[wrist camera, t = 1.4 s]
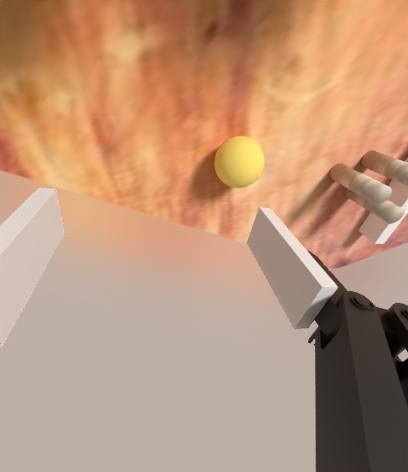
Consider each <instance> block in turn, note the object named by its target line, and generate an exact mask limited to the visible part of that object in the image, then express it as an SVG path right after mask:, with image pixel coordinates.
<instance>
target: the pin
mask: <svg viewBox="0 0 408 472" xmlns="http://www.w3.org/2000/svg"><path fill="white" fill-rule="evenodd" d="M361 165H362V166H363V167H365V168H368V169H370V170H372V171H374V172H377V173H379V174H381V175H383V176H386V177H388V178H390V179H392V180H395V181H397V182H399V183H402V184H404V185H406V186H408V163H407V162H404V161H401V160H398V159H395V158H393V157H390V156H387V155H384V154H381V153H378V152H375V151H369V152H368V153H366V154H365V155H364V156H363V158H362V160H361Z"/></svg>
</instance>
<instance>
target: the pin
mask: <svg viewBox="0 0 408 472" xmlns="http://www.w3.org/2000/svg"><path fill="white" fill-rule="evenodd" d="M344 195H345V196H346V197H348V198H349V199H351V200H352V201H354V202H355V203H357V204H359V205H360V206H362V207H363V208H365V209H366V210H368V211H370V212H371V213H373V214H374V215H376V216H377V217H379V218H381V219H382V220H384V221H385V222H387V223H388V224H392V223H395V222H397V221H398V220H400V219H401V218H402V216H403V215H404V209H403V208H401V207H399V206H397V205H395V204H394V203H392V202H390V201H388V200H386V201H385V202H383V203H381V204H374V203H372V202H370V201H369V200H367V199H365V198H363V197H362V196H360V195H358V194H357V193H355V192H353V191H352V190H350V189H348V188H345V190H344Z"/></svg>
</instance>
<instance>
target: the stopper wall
mask: <svg viewBox="0 0 408 472" xmlns="http://www.w3.org/2000/svg"><path fill="white" fill-rule="evenodd" d="M404 162H407V163H408V157H407V158H406V160H405V161H404ZM388 186H389V187H391V189H392V193H391V195H390V197H389V198H388V199H387V200H388V201H390V202H392V203H394V204H395V205H397V206H399V207H401V208H403V209H404V215H403V216H402V218H401V219H400V220H398V221H397V222H395V223H392V224H388V223H387V222H385V221H384V220H382V219H381V218H379V217H377V216H376V215H374V214H373V213H371V212H370V214H369V215H368V217H367V218H366V220H365V221H364V223H363V224H362V226H361V227H360V228H359V230H358V231H359V232H360V233H362V234H363V235H364V236H366V237H367V238H368V239H370V240H371V241H372V242H373V243H376V244H384V243H385V241H386V240H387V239H388V237H389V236H390V235H391V234H392V232H393V231H394V230H395V228H396V227H397V226H398V224H399V223H400V222H401V221H402V219H403V218H404V217H405V215H406V214H407V213H408V186H406V185H404V184H402V183H399V182H397V181H395V180H392V181H391V182H390V184H389V185H388Z"/></svg>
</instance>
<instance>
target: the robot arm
mask: <svg viewBox="0 0 408 472" xmlns="http://www.w3.org/2000/svg"><path fill="white" fill-rule="evenodd" d="M64 235H65V232H64V226H63V221H62V216H61V210H60V205H59V200H58V195H57V189H49V188H38V189H37V190H36V191H35V192H34V193H33V194H32V195H31V196H30V197H29V198H28V199H27V200H26V201H25V202H24V203H23V204H22V205H21V206H20V207H19V208H18V209H17V210H16V211H15V212H14V213H13V214H12V215H11V216H10V217H9V218H8V219H7V220H6V221H5V222H4V223H3V224H2V225H1V226H0V347H1V346H3V344H4V343H5V341H6V339H7V337H8V335H9V334H10V332H11V330H12V328H13V326H14V324H15V323H16V321H17V319H18V317H19V316H20V314H21V312H22V310H23V309H24V307H25V305H26V303H27V301H28V300H29V298H30V296H31V294H32V292H33V291H34V289H35V287H36V285H37V283H38V282H39V280H40V278H41V276H42V274H43V272H44V271H45V269H46V267H47V266H48V264H49V262H50V260H51V258H52V257H53V255H54V253H55V251H56V249H57V247H58V246H59V244H60V242H61V240H62V239H63V237H64ZM247 244H248V246H249V247H250V249H251V251H252V253H253V255H254V256H255V258H256V260H257V262H258V264H259V266H260V267H261V269H262V271H263V273H264V275H265V276H266V278H267V280H268V282H269V284H270V286H271V287H272V289H273V291H274V293H275V295H276V297H277V298H278V300H279V302H280V304H281V306H282V308H283V309H284V311H285V313H286V315H287V317H288V318H289V320H290V322H291V324H292V326H293V327H294V329H299V328H300V329H301V328H309V326H310V325H311V324H312V322H313V321H314V320H315V321H316V323H317V324H318V328H317V329H316V330H315V332H314V333H313V334H312V336H311V337H310V338H309V340H308V343H311V342H312V341H313V339H315V344H314V345H315V365H316V366H315V371H316V372H315V374H316V375H315V378H316V379H315V380H316V381H315V382H316V383H315V386H316V472H408V358H407V359H406V360H405V361H403V362H402V361H401V360H400V359H399V357H398V354H399V353H401V352H402V351H403V350H405V349H406V350H407V352H408V306H407V305H405V304H402V303H395V304H393V305H392V306H391V307H390V308H389V309H388V310H386V309H382V308H378V307H375V305H374V304H373V303H372V302H371V301H370V300H369V299H367V298H366V297H365V296H363V295H361V294H359V293H356V292H353V291H347V290H346V289H345V288H344V286H343V285H342V284H341V283H340V282H339V281H338V280H337V278H336V277H335V276H334V275H333V274H332V273H331V272H330V271H328V268H327V267H326V266H325V265H323V263H322V262H321V261H320V259H319V258H318V257H317V256H315V255H314V254H313V253H311V252H310V251H307V250H306V249H305V248H304V247H303V246H302V244H301V243H300V242H299V241H298V240H297V239H296V237H295V236H294V235H293V234H292V233H291V232H290V231H289V229H288V228H287V227H286V226H285V225H284V224H283V222H282V221H281V220H280V219H279V218H278V217H277V215H276V214H275V213H274V212H273V211H272V210H271V208H261V207H259V210H258V213H257V216H256V218H255V221H254V224H253V227H252V230H251V232H250V235H249V238H248V241H247Z"/></svg>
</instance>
